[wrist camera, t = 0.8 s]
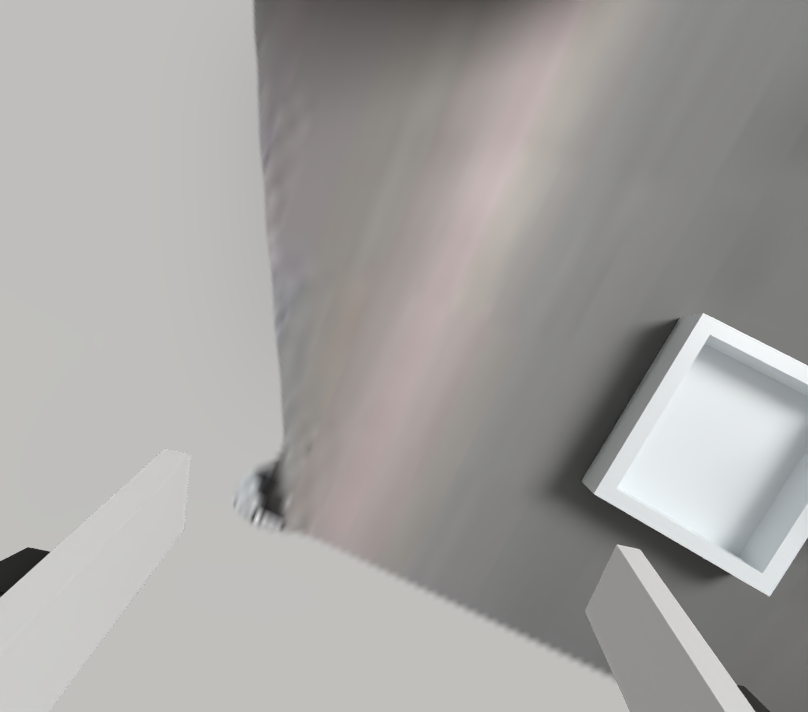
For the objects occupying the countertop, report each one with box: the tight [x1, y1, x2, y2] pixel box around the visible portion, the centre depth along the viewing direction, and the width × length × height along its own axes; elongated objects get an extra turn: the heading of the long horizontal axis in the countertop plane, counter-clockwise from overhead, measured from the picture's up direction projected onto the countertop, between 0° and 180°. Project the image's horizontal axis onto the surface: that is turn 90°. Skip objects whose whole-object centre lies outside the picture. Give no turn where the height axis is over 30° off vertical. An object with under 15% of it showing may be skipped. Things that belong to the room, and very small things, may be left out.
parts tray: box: [581, 313, 808, 596], centre depth 33 cm, size 16×14×4 cm
